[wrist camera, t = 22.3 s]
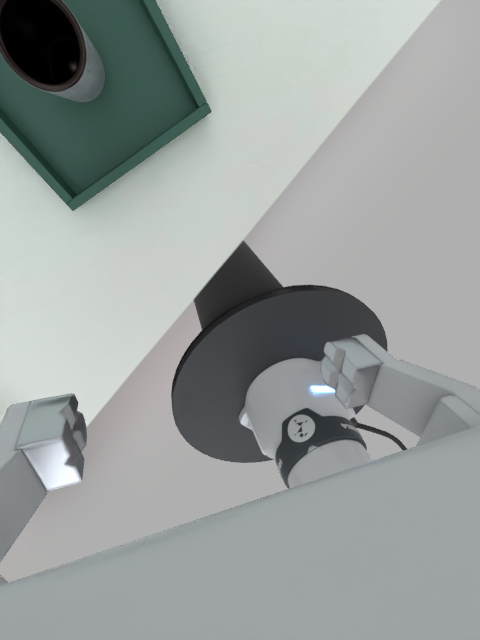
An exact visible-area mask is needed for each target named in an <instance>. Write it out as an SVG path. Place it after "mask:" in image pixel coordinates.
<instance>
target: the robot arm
mask: <svg viewBox="0 0 480 640" xmlns="http://www.w3.org/2000/svg"><path fill="white" fill-rule="evenodd" d="M323 352H324V353H325V355H326V356H325V357H324V358H323V360H322V361H314V360H311V359H306V358H294V359H288V360H284V361H281V362H279V363H276V364H274V365H272V366H271V367H269V368H267V369H266V370H264V371H263V372H262V373H261V374H260V375H258V376H257V377H256V379H255V380H254V381H253V382H252V384H251V385H250V387H249V389H248V391H247V394H246V400H245V406H244V408H243V409H242V411H241V413H240V415H239V421H240V423H241V424H242V425H244V426H245V427H247V428H249V429H251V430H252V431H253V433H254V435H255V437H256V440H257V442H258V444H259V447H260V449H261V451H262V453H263V454H264V455H267V456H268V457H269V458H272V459H275V460H276V463H277V466H278V470H279V473H280V475H281V478H282V479H283V480H284V483H285V485H286V486H287V488H289V489H287V490H284V491H282V492H278V493H275V494H273V495H269V496H266V497H263V498H260V499H257V500H254V501H251V502H248V503H245V504H243V505H240V506H236V507H234V508H230V509H228V510H225V511H222V512H218V513H216V514H213V515H210V516H207V517H204V518H201V519H198V520H195V521H192V522H189V523H186V524H183V525H180V526H177V527H174V528H171V529H168V530H165V531H162V532H159V533H156V534H153V535H150V536H147V537H144V538H141V539H138V540H135V541H132V542H129V543H126V544H123V545H120V546H117V547H114V548H111V549H108V550H105V551H102V552H99V553H96V554H93V555H90V556H87V557H84V558H82V559H78V560H75V561H73V562H70V563H66V564H63V565H60V566H57V567H55V568H51V569H49V570H45V571H43V572H39V573H36V574H33V575H30V576H27V577H24V578H21V579H18V580H16V581H12V582H9V583H8V582H7V581H6V580H5V579H4V578H3V577H2V576H1V575H0V640H480V390H479V389H478V388H477V387H475V386H472V385H469V384H467V383H464V382H461V381H458V380H456V379H453V378H450V377H447V376H445V375H442V374H439V373H436V372H434V371H431V370H428V369H425V368H422V367H420V366H417V365H414V364H411V363H408V362H406V361H403V360H396V359H395V358H393V356H391V355H390V354H389V353H388V352H387V351H386V350H384V349H383V348H382V347H381V346H380V345H379V344H377V343H376V342H375V341H374V340H373V339H372V338H370V337H369V336H368V335H365V334H362V335H357V336H353V337H349V338H344V339H340V340H335V341H330V342H327V343H326V344H325V346H324V350H323ZM366 404H367V406H369V407H371V408H372V409H374V410H376V411H377V412H379V413H381V414H382V415H384V416H386V417H388V418H389V419H391V420H392V421H394V422H396V423H398V424H399V425H401V426H402V427H404V428H406V429H408V430H410V431H411V432H413V433H414V434H416V435H418V436H420V439H419V441H418V443H417V445H416V447H413V448H410V449H407V448H406V447H405V446H404V445H403V444H402V442H401V441H400V440H398V439H397V438H396V437H394V436H393V435H391V434H389V433H387V432H385V431H382V430H379V429H376V428H373V427H370V426H367V425H363V424H360V423H358V422H357V421H356V419H355V418H354V417H355V415H356V414H355V412H354V410H353V407H358V406H362V405H366ZM77 407H78V401H77V399H76V397H75V395H74V394H72V393H71V394H66V395H60V396H55V397H49V398H43V399H38V400H33V401H29V402H23V403H18V404H12V405H11V406H10V407H9V408H8V409H7V411H6V413H5V416H4V418H3V421H2V423H1V426H0V562H1V561H2V559H3V558H4V556H5V555H6V553H7V552H8V551H9V549H10V548H11V546H12V544H13V543H14V542H15V540H16V539H17V537H18V536H19V534H20V533H21V532H22V530H23V529H24V527H25V526H26V524H27V523H28V521H29V520H30V518H31V517H32V515H33V514H34V513H35V511H36V510H37V508H38V507H39V505H40V504H41V502H42V501H43V499H44V498H45V496H46V495H47V492H48V491H52V490H55V489H58V488H61V487H65V486H68V485H71V484H75V483H78V482H81V481H82V475H83V466H84V457H83V455H82V453H81V451H82V450H83V449H84V448H85V446H86V438H87V435H86V434H87V433H86V424H85V419H84V417H83V414H82V413H80V412H78V411H77ZM356 428H360V429H364V430H367V431H371V432H374V433H377V434H380V435H383V436H386V437H388V438H390V439H392V440H393V441H394V442H396V443H397V444H398V445H399V446H400V448H401V449H402V450H403V451H401V452H398V453H395V454H392V455H389V456H386V457H383V458H380V459H377V460H374V461H373V459H372V458H371V457H370V455H369V454H368V452H367V449H366V444H365V442H364V441H363V439H362V436H361V434H360V433H359V431H358V430H357V429H356Z"/></svg>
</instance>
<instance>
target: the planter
mask: <svg viewBox="0 0 480 640" xmlns="http://www.w3.org/2000/svg"><path fill="white" fill-rule="evenodd" d="M0 53H1V55H2V57H3V59H4V60H5V61H6V63H7V64H8V66H9V67H10V68H11V69H12V70H13V71H14V72H15V73H16V74H17V75H18V76H19V77H20V78H21V79H22V80H24V81H25V82H26V83H28V84H30V85H31V86H33V87H35V88H37V89H40V90H42V91H45V92H48V93H51V94H54V95H57V96H60V97H63V98H66V99H69V100H72V101H76V102H89V101H92V100H94V99H95V98H97V97H98V96H99V95H100V93H101V92H102V90H103V87H104V83H105V71H104V66H103V63H102V60H101V57H100V55H99V53H98V52H97V50H96V48H95V47H94V45H93V44H92V42H91V41H90V39H89V38H88V36H87V34H86V33H85V31H84V30H83V28H82V27H81V25H80V24H79V22H78V20H77V19H76V17H75V16H74V14H73V13H72V12H71V10H70V9H69V8H68V6H67V5H66V4H65V3H64V2H63V1H62V0H0Z"/></svg>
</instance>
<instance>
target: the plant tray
mask: <svg viewBox="0 0 480 640" xmlns="http://www.w3.org/2000/svg"><path fill="white" fill-rule="evenodd" d="M62 1H63V2H64V3H65V4H66V5H67V6H68V8H69V9H70V10H71V12H72V13H73V14H74V16H75V17H76V19H77V20H78V22H79V24H80V25H81V27H82V28H83V30H84V31H85V33H86V34H87V36H88V38H89V39H90V41H91V42H92V44H93V45H94V47H95V48H96V50H97V52H98V53H99V55H100V57H101V60H102V63H103V66H104V71H105V83H104V87H103V90H102V92H101V93H100V95H99V96H98V97H97V98H95V99H94V100H92V101H89V102H76V101H72V100H69V99H66V98H63V97H60V96H57V95H54V94H51V93H48V92H45V91H42V90H40V89H37V88H35V87H33V86H31V85H30V84H28V83H26V82H25V81H24V80H22V79H21V78H20V77H19V76H18V75H17V74H16V73H15V72H14V71H13V70H12V69H11V68H10V67H9V66H8V64H7V63H6V61H5V60H4V59H3V57H2V55H1V53H0V132H1V133H2V135H3V136H4V137H5V138H6V139H7V140H8V141H9V142H10V143H11V144H12V145H13V147H14V148H15V149H16V150H17V151H18V152H19V153H20V154H21V155H22V156H23V157H24V159H25V160H26V161H27V162H28V163H29V164H30V165H31V166H32V167H33V168H34V169H35V170H36V172H37V173H38V174H39V175H40V176H41V177H42V178H43V179H44V180H45V181H46V182H47V184H48V185H49V186H50V187H51V188H52V189H53V190H54V191H55V192H56V193H57V194H58V196H59V197H60V198H61V199H62V200H63V201H64V202H65V203H66V204H67V205H68V206H69V207H70V208H71V210H73V211H74V210H75V209H77V208H78V207H79V206H81V205H82V204H83V203H85V202H86V201H88V200H89V199H90V198H92V197H93V196H95V195H96V194H97V193H99V192H100V191H102V190H103V189H104V188H106V187H107V186H109V185H110V184H111V183H113V182H114V181H116V180H117V179H118V178H120V177H121V176H123V175H124V174H125V173H127V172H128V171H130V170H131V169H132V168H134V167H135V166H137V165H138V164H139V163H141V162H142V161H144V160H145V159H146V158H148V157H149V156H151V155H152V154H153V153H155V152H156V151H158V150H159V149H160V148H162V147H163V146H165V145H166V144H167V143H169V142H170V141H172V140H173V139H174V138H176V137H177V136H179V135H180V134H181V133H183V132H184V131H185V130H187V129H188V128H190V127H191V126H192V125H194V124H195V123H197V122H198V121H199V120H201V119H202V118H204V117H205V116H206V115H208V114H209V113H211V109H210V107H209V105H208V103H206V99H205V97H204V95H203V93H202V92H201V90H200V88H199V86H198V84H197V82H196V80H195V78H194V76H193V74H192V72H191V70H190V68H189V66H188V64H187V62H186V60H185V58H184V56H183V54H182V52H181V50H180V48H179V46H178V44H177V42H176V40H175V38H174V36H173V34H172V32H171V31H170V29H169V27H168V25H167V23H166V21H165V19H164V17H163V15H162V13H161V11H160V9H159V7H158V5H157V3H156V1H155V0H62Z"/></svg>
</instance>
